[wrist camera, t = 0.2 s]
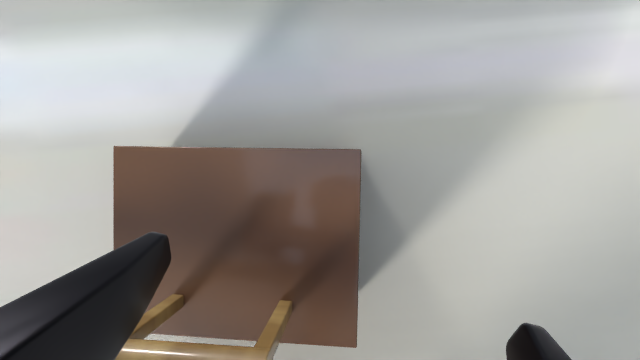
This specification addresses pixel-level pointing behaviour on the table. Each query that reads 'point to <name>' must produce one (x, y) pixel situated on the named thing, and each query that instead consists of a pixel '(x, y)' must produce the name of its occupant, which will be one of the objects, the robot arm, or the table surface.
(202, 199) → the lid
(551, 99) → the table surface
